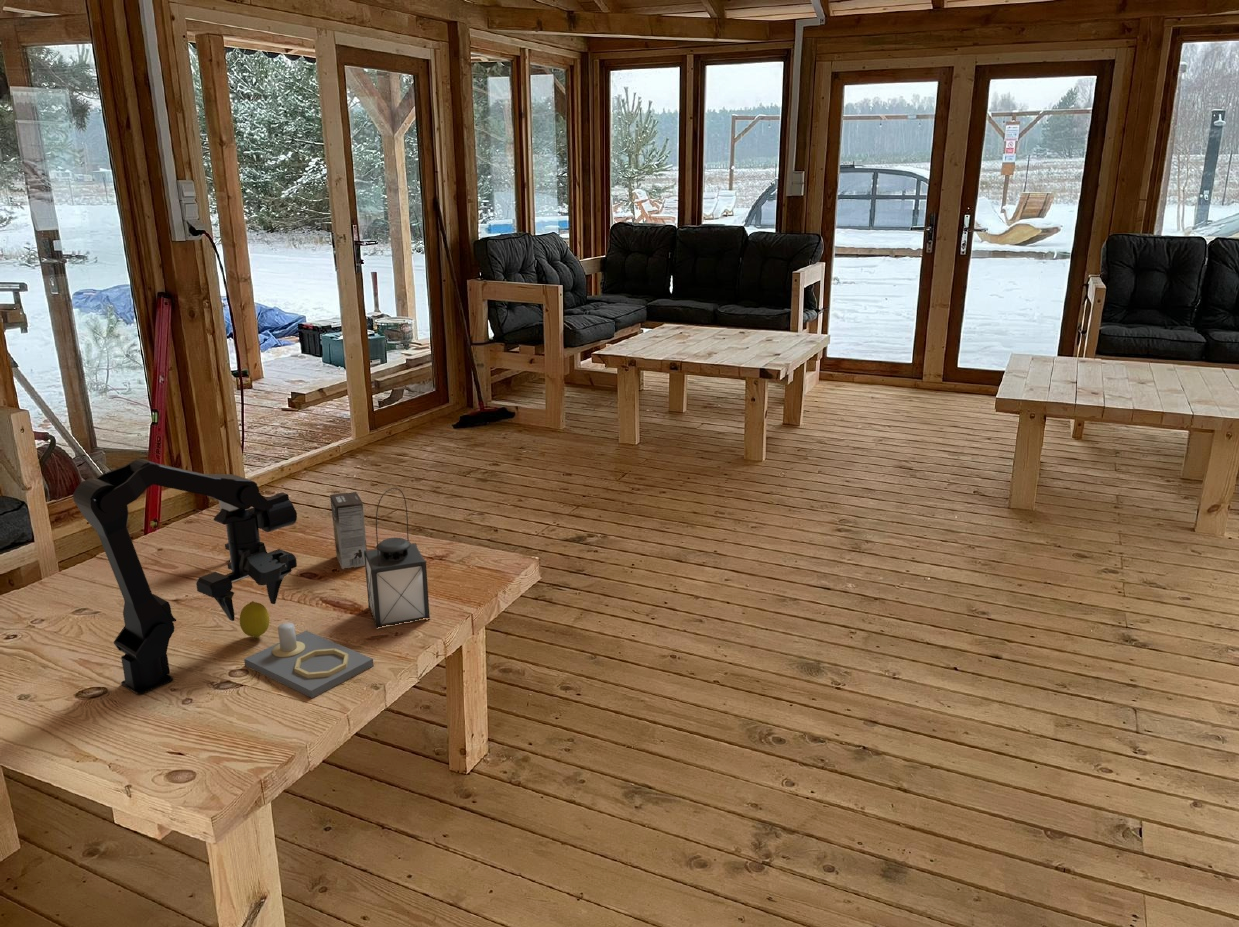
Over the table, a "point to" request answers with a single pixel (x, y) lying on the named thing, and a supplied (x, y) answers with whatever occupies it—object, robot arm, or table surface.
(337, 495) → the coffee box
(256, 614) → the lemon
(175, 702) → the table surface
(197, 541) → the table surface
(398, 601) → the lantern
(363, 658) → the board
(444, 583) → the table surface
